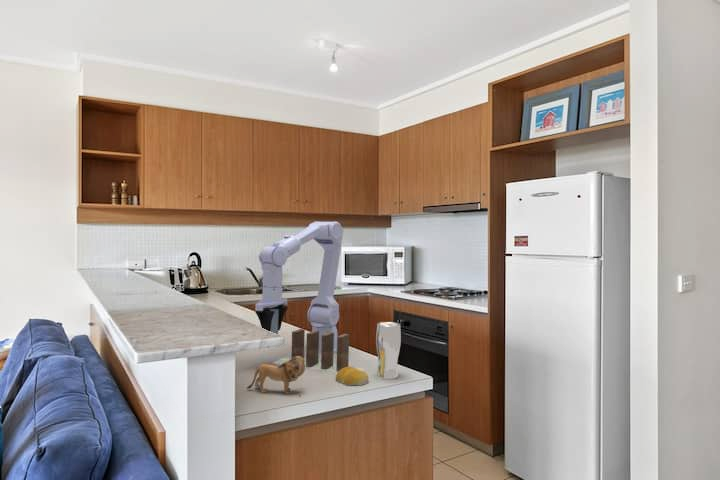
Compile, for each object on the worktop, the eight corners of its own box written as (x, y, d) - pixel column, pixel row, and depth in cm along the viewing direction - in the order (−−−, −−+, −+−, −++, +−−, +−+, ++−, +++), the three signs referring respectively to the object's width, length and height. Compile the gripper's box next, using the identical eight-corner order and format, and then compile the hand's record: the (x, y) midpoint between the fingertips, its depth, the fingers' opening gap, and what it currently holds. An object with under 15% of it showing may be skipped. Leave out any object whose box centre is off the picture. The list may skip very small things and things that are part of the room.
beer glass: (400, 380, 137) (402, 326, 136) (375, 380, 136) (377, 326, 136) (398, 373, 144) (400, 322, 143) (374, 372, 143) (376, 321, 143)
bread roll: (352, 389, 128) (352, 374, 128) (331, 381, 135) (331, 366, 135) (375, 384, 134) (375, 369, 134) (354, 376, 141) (354, 362, 140)
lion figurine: (305, 388, 128) (306, 353, 128) (303, 395, 123) (304, 359, 123) (248, 387, 128) (249, 352, 128) (244, 394, 122) (244, 358, 122)
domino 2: (291, 364, 149) (292, 331, 149) (299, 360, 154) (300, 328, 153) (295, 365, 148) (296, 332, 148) (303, 361, 153) (304, 329, 153)
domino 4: (320, 368, 145) (321, 335, 145) (328, 364, 150) (329, 332, 150) (325, 369, 145) (326, 335, 144) (333, 365, 149) (333, 332, 149)
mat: (283, 358, 157) (283, 357, 157) (365, 370, 146) (365, 368, 146) (271, 364, 150) (271, 363, 150) (356, 376, 140) (356, 375, 140)
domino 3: (305, 366, 147) (306, 333, 147) (313, 362, 152) (314, 330, 151) (310, 367, 146) (311, 333, 146) (318, 363, 151) (319, 330, 151)
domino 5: (336, 371, 143) (337, 336, 143) (343, 366, 148) (344, 333, 148) (341, 371, 143) (342, 337, 142) (348, 367, 147) (349, 334, 147)
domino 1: (264, 344, 146) (265, 310, 146) (273, 341, 150) (274, 308, 150) (268, 345, 145) (269, 311, 145) (277, 342, 150) (278, 309, 150)
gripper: (273, 283, 156) (273, 326, 156) (246, 287, 142) (245, 334, 142) (293, 284, 153) (292, 328, 153) (267, 289, 140) (266, 337, 140)
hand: (271, 331), depth 148 cm, fingers closed on domino 1, 5 cm apart
